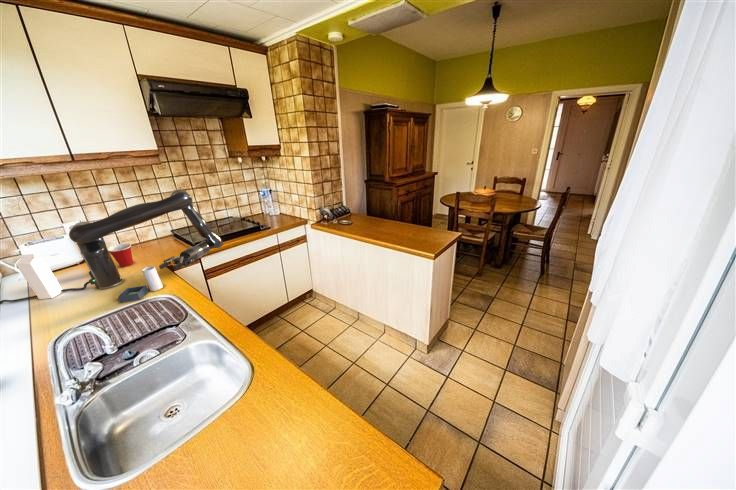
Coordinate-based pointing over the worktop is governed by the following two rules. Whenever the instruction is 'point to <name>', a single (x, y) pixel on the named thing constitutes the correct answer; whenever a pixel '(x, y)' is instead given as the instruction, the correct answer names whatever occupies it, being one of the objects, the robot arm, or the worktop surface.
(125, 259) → the plastic cup
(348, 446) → the worktop surface
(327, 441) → the worktop surface
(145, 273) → the tumbler
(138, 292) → the dark square dish
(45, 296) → the milk
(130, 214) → the robot arm
